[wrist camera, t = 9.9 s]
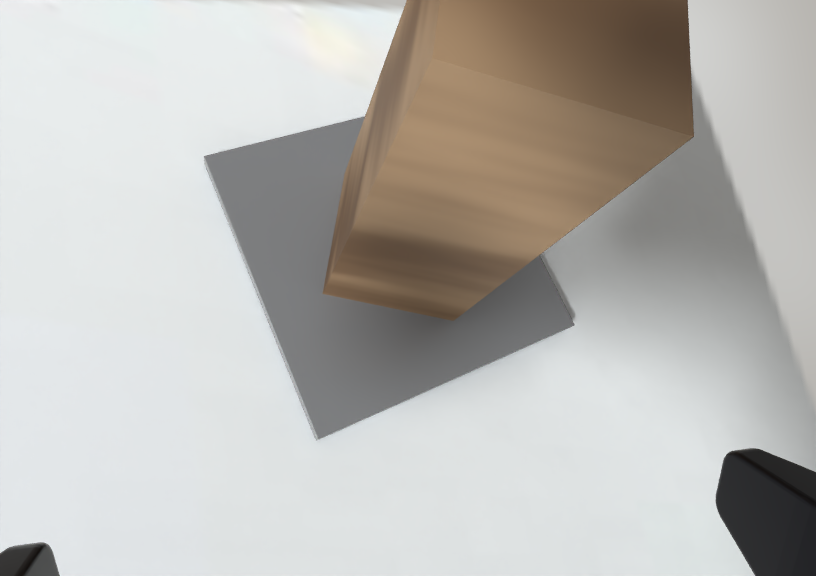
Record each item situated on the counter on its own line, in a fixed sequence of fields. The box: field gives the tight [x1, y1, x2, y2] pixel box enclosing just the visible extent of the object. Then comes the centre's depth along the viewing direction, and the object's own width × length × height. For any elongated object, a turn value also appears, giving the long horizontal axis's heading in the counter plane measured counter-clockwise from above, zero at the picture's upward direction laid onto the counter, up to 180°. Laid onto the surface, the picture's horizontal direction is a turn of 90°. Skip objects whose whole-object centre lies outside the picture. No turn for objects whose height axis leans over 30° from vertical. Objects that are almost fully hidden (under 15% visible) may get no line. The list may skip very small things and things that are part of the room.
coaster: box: [204, 117, 574, 441], centre depth 24 cm, size 11×11×1 cm
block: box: [322, 0, 694, 321], centre depth 17 cm, size 5×5×13 cm
